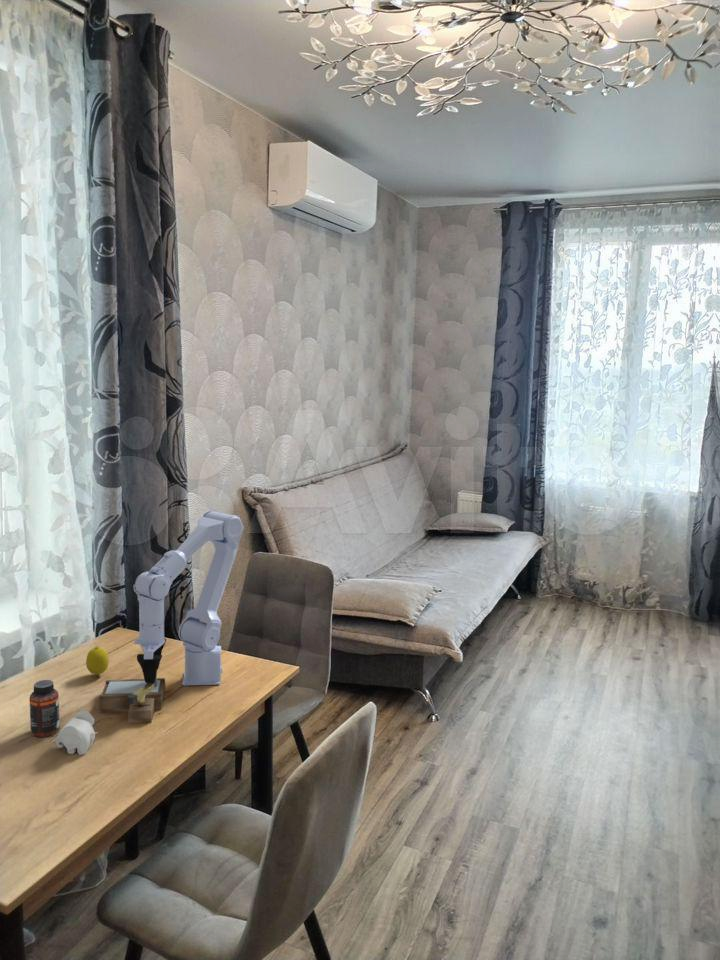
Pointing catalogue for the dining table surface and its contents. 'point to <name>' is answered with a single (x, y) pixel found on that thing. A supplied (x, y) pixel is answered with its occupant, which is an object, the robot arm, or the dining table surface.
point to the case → (135, 712)
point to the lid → (129, 687)
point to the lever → (140, 695)
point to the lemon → (97, 660)
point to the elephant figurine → (77, 733)
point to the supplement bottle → (44, 709)
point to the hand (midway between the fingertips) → (152, 675)
